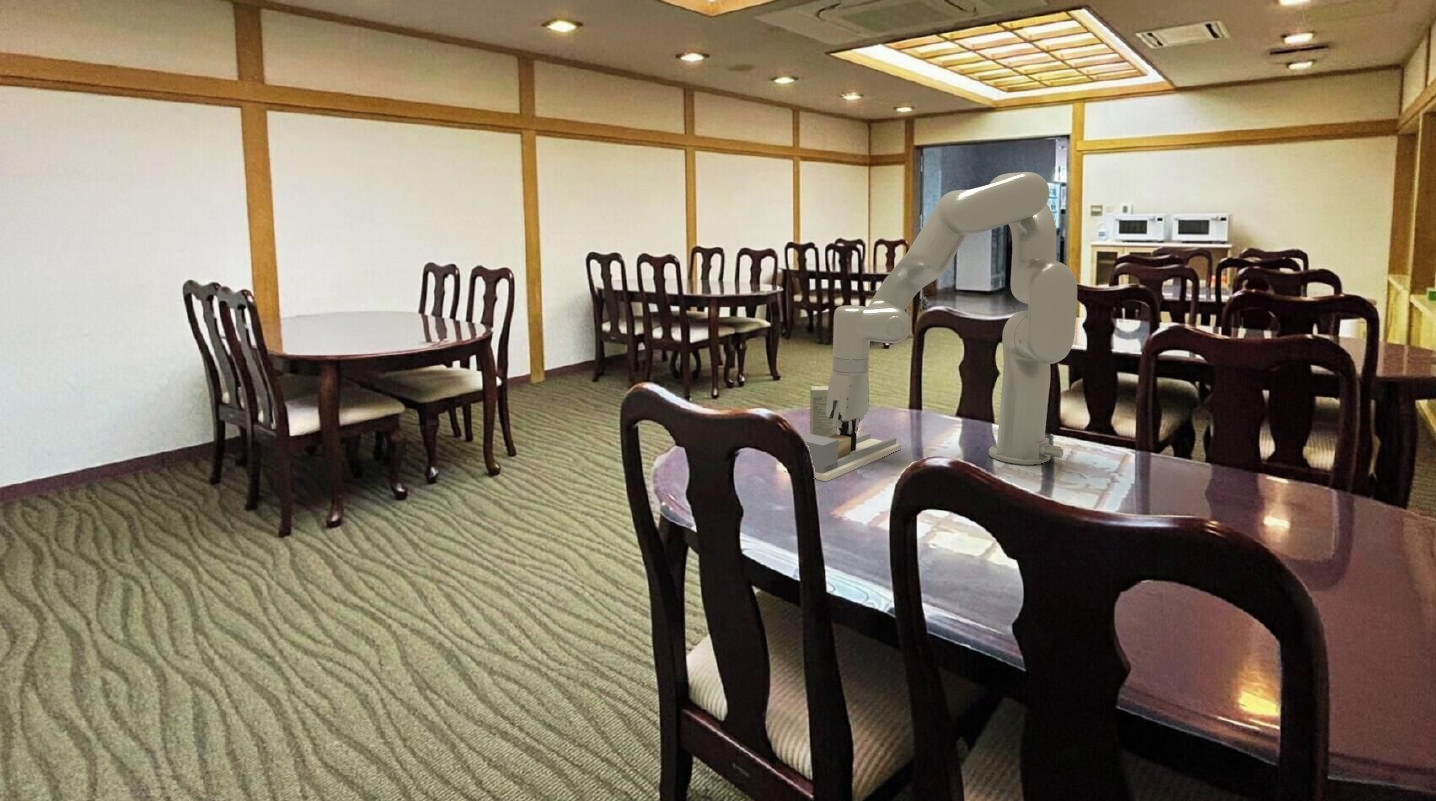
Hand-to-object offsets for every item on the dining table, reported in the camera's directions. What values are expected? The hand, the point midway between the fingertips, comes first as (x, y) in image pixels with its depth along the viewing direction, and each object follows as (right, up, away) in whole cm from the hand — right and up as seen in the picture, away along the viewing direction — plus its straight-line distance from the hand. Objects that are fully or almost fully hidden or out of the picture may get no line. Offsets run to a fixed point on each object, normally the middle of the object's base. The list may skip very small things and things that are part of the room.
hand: (847, 449), depth 182 cm
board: (0, -2, 0) cm, 2 cm away
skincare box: (-3, +1, +16) cm, 16 cm away
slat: (-5, -2, -6) cm, 8 cm away
